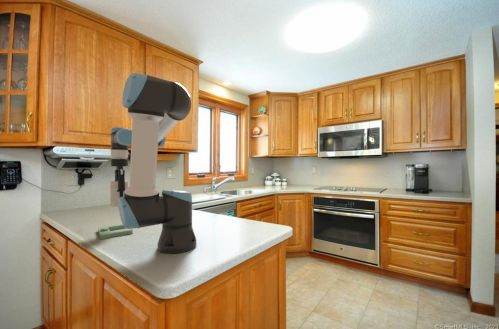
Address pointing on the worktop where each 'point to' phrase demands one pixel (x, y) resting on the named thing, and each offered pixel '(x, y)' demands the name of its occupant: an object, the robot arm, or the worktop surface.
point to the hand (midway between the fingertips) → (119, 203)
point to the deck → (106, 233)
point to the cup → (115, 192)
